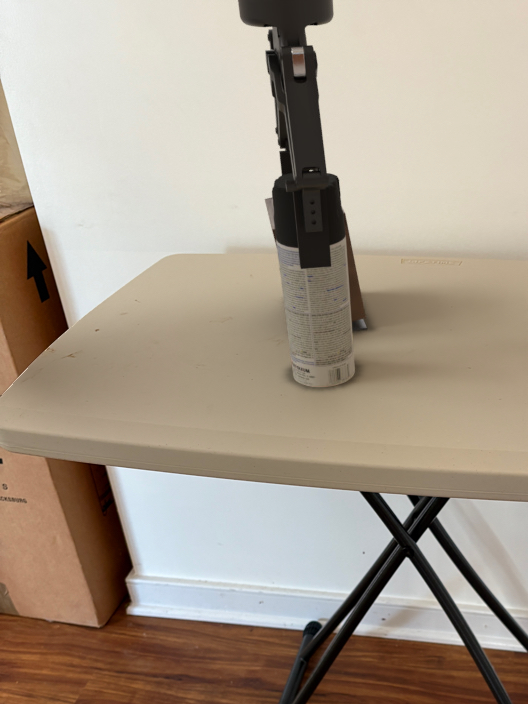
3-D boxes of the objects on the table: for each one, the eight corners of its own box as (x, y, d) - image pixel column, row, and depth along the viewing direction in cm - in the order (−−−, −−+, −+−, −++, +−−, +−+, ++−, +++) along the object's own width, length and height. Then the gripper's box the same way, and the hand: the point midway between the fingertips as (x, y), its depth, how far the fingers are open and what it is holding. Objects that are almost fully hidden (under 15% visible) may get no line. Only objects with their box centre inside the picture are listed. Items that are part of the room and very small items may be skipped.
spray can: (359, 365, 84) (345, 169, 71) (351, 394, 79) (336, 189, 66) (299, 364, 84) (275, 170, 72) (288, 394, 79) (260, 189, 66)
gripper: (355, -32, 50) (368, 285, 63) (312, -44, 69) (329, 202, 82) (240, -29, 49) (278, 293, 62) (228, -42, 68) (259, 207, 81)
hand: (307, 242), depth 72 cm, fingers open, 13 cm apart
